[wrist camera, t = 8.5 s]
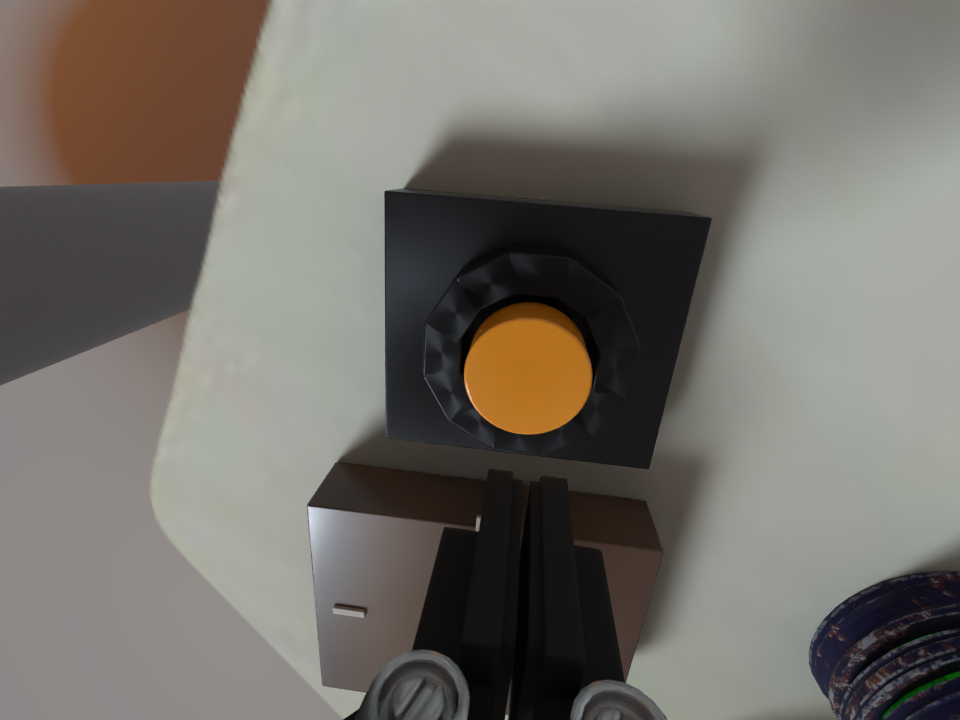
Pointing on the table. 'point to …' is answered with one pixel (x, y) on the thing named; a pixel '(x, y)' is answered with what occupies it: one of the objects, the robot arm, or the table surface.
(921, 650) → the storage jar
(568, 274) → the button block
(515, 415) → the button
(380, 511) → the base
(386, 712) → the robot arm
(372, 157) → the table surface
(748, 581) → the table surface
